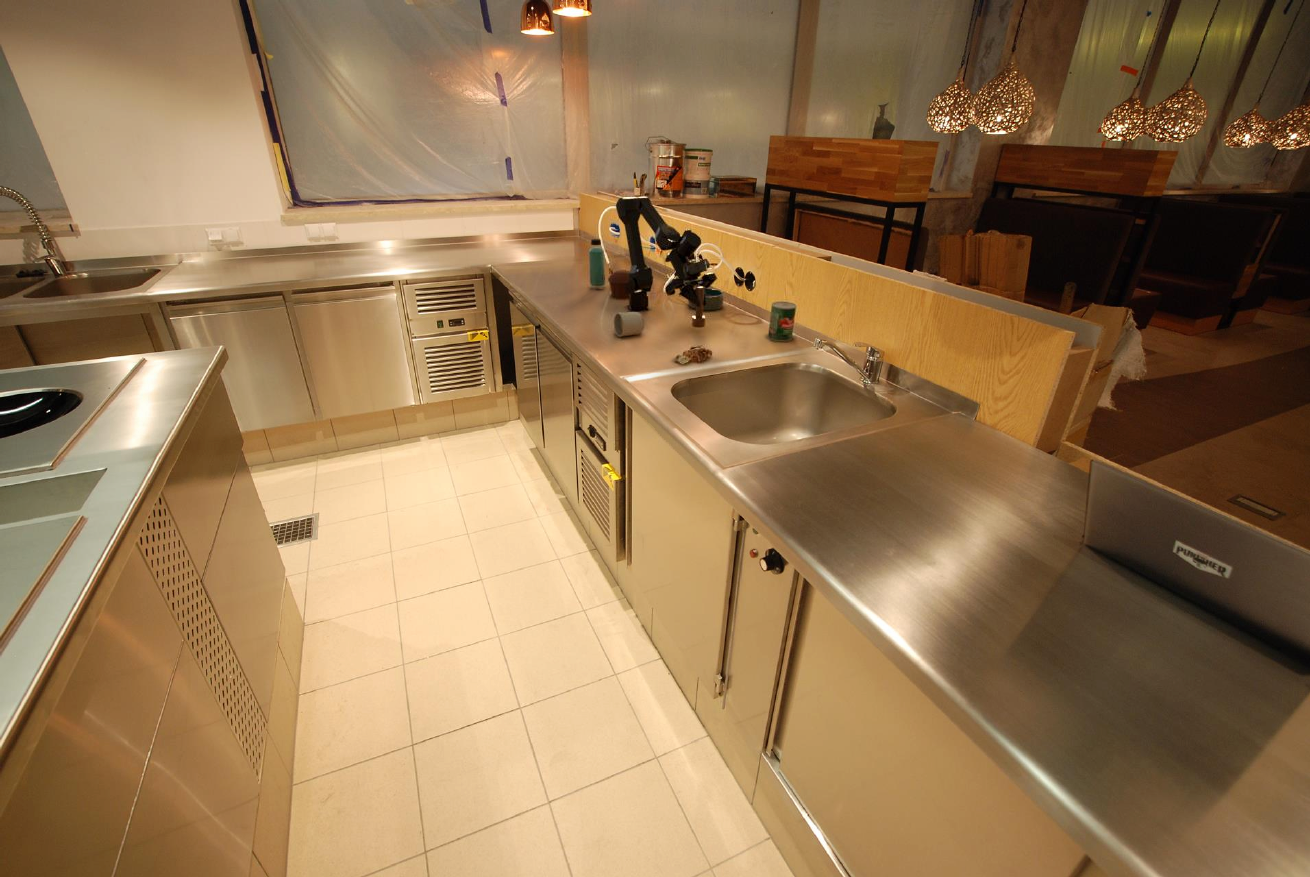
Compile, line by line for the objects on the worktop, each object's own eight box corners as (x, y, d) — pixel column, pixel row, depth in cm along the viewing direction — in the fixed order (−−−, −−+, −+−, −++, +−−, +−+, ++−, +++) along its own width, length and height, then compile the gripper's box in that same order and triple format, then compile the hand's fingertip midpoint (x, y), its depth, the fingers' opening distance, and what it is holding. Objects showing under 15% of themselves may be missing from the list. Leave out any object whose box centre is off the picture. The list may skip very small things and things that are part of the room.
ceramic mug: (645, 336, 189) (645, 313, 185) (623, 339, 185) (622, 316, 181) (631, 327, 197) (630, 305, 193) (609, 330, 193) (608, 308, 190)
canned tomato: (787, 343, 185) (791, 309, 180) (764, 338, 188) (767, 305, 183) (795, 336, 191) (800, 304, 185) (773, 332, 194) (777, 300, 189)
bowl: (695, 312, 214) (696, 297, 211) (683, 303, 225) (684, 289, 222) (728, 310, 217) (729, 295, 215) (714, 301, 228) (715, 287, 226)
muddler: (694, 328, 190) (696, 288, 184) (690, 324, 194) (691, 285, 188) (706, 327, 192) (709, 288, 185) (702, 323, 195) (704, 284, 189)
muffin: (632, 291, 239) (632, 267, 234) (640, 298, 230) (640, 273, 225) (605, 293, 236) (604, 268, 231) (611, 300, 227) (611, 274, 222)
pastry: (670, 360, 169) (670, 348, 168) (697, 351, 177) (698, 340, 175) (687, 367, 165) (688, 355, 163) (715, 357, 172) (715, 346, 171)
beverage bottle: (603, 290, 240) (601, 240, 231) (587, 289, 241) (585, 239, 232) (607, 286, 246) (606, 238, 236) (592, 285, 247) (590, 237, 237)
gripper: (672, 253, 179) (693, 296, 177) (715, 247, 189) (736, 288, 187) (655, 274, 188) (676, 315, 186) (698, 267, 198) (717, 306, 196)
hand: (702, 305), depth 189 cm, fingers closed on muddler, 2 cm apart
